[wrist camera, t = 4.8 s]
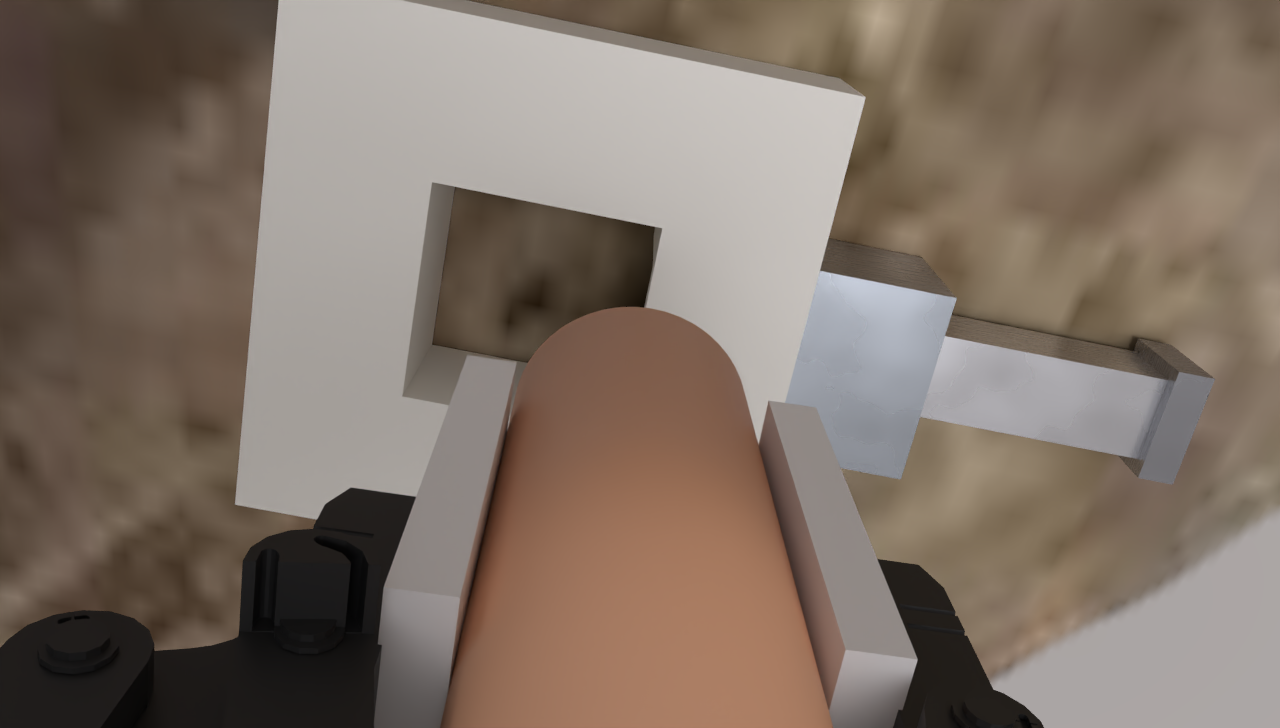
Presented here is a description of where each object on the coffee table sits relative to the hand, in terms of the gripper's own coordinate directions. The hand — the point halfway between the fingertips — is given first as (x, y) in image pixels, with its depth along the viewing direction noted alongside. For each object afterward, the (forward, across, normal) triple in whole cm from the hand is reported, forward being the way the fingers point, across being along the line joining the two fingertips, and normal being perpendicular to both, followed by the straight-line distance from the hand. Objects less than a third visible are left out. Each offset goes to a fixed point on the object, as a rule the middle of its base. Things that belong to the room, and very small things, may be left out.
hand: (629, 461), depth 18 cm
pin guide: (+16, +7, -2) cm, 17 cm away
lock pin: (+15, +11, -2) cm, 19 cm away
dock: (+16, -2, -2) cm, 16 cm away
